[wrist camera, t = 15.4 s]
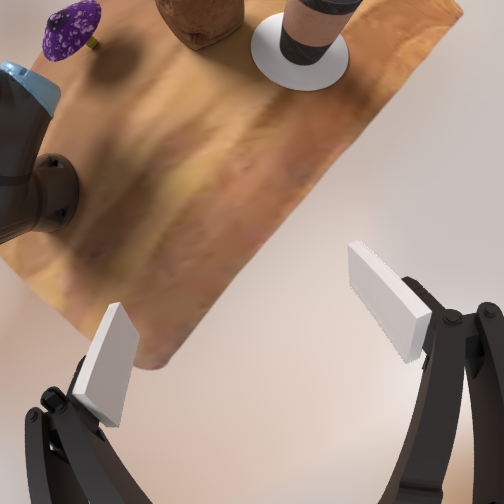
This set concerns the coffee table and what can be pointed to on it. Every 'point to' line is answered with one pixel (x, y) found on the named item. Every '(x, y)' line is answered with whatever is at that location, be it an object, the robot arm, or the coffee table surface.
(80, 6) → the decorative mushroom
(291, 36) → the travel mug
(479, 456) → the robot arm
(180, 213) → the coffee table surface
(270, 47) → the place mat
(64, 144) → the coffee table surface
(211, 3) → the block
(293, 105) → the coffee table surface
